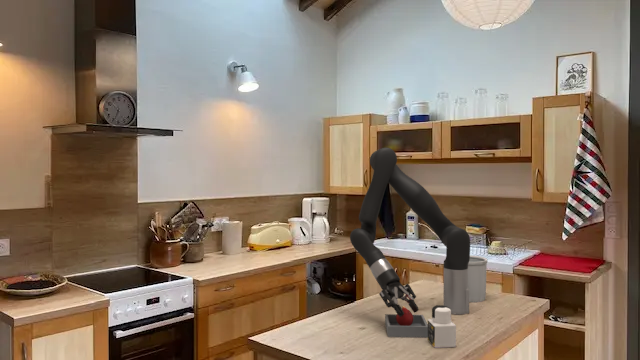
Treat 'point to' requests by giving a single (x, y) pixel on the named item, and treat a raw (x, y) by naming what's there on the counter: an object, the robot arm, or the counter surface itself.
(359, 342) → the counter surface
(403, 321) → the onion
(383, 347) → the counter surface
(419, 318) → the slate grey tray
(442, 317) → the medicine bottle
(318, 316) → the counter surface
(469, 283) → the utensil holder
